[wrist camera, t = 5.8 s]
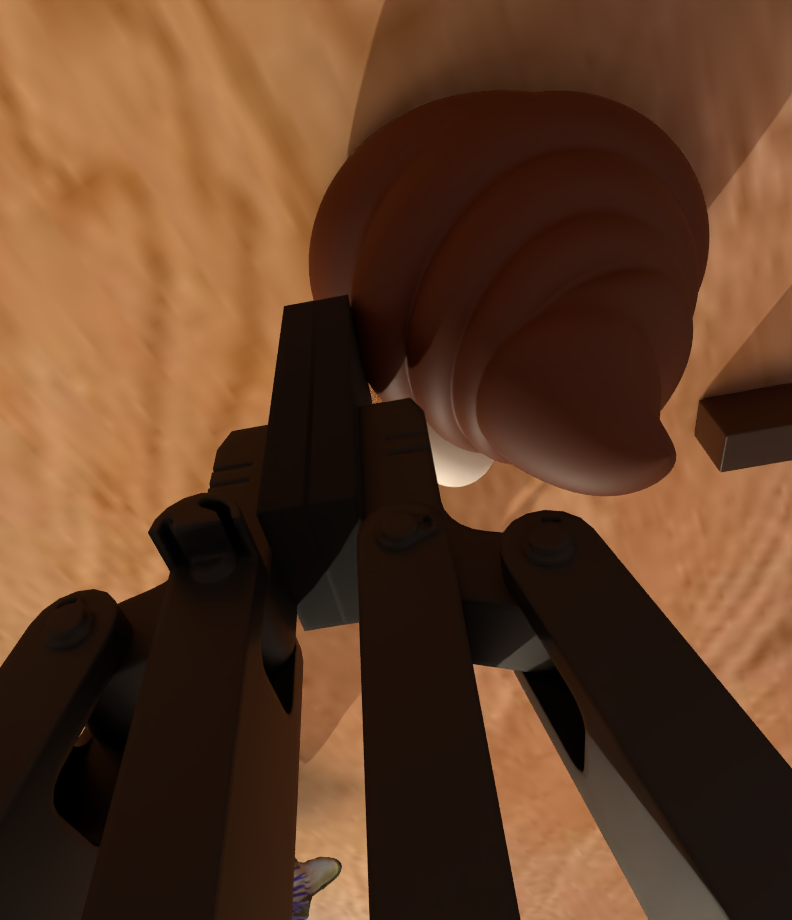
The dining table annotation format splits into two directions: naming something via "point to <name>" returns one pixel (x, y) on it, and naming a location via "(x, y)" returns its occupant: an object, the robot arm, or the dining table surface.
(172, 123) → the dining table surface
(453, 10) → the dining table surface
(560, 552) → the robot arm
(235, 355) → the dining table surface
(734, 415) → the dark brown u-shaped frame
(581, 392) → the poop emoji
